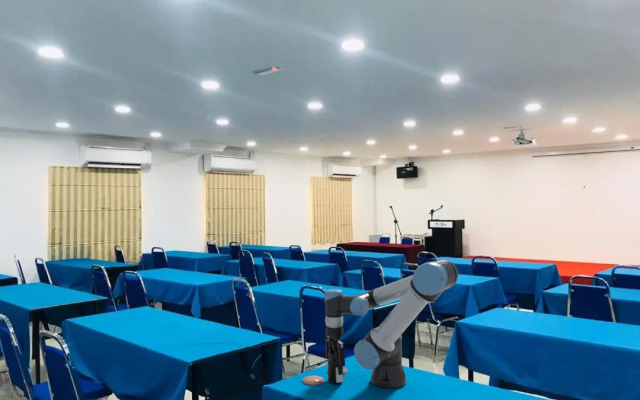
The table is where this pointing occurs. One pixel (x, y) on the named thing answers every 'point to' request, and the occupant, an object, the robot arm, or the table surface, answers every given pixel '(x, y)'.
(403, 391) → the table surface
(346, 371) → the slate coaster
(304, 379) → the terracotta coaster
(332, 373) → the supplement bottle
